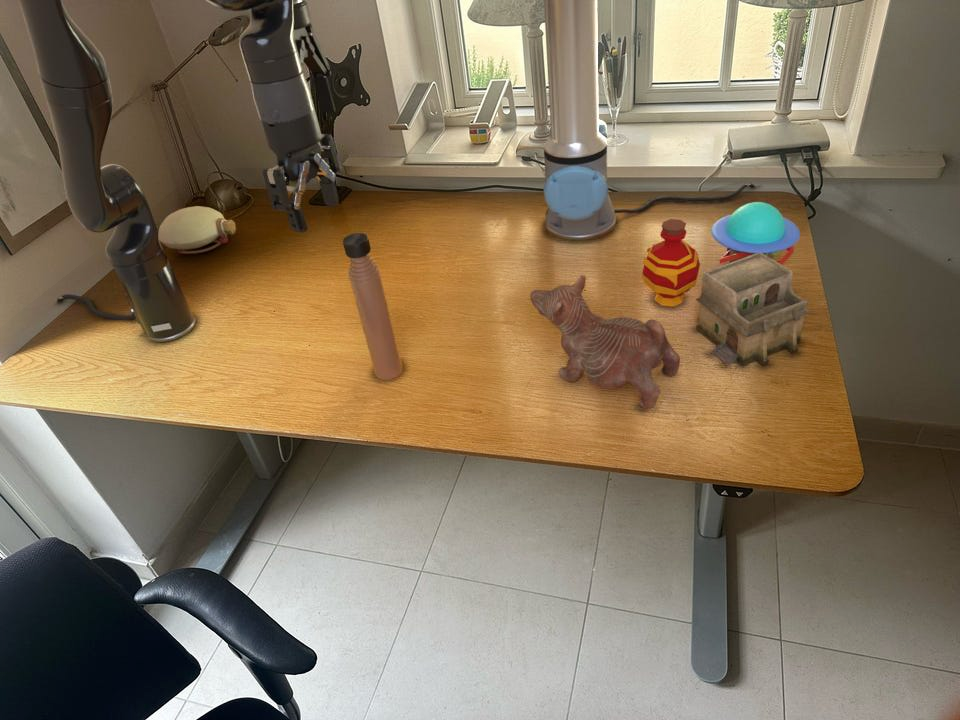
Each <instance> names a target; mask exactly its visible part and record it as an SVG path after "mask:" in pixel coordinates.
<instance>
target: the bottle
mask: <svg viewBox="0 0 960 720" xmlns="http://www.w3.org/2000/svg"><path fill="white" fill-rule="evenodd" d="M349 262H350V263H349V269H348V280H349V283H350V288H351V291H352V294H353V298H354V302H355V305H356V309H357V314H358V316H359V320H360V324H361V327H362V331H363V335H364V338H365V342H366V346H367V349H368V353H369V357H370V359H371V365H372V368H373V371H374V375H375V377H376V378H377V379H379V380H381V381H390V380H393V379H396V378H398V377H400V375H401V374H402V372H403V370H404V367H403V364H402V359H401V356H400V352H399V348H398V343H397V338H396V335H395V331H394V325H393V321H392V318H391V314H390V313H391V312H390V309H389V306H388V305H389V304H388V301H387V296H386V293H385V288H384V285H383V280H382V277H381V271H380V269H379V267H378V265H377V264H376V262H374V260H373V259H372V258H371V256H370V255H369V254H367V255H366V256H364V257H360V258H350V261H349Z"/></svg>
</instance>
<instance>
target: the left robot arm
mask: <svg viewBox="0 0 960 720" xmlns="http://www.w3.org/2000/svg"><path fill="white" fill-rule="evenodd" d="M17 1H18V4H19V7H20V10H21V14H22V17H23V19H24V23H25V26H26V30H27V33H28V36H29V40H30V44H31V48H32V51H33V56H34V59H35V63H36V68H37V72H38V77H39V80H40V84H41V87H42V88H41V89H42V91H43V95H44V98H45V102H46V105H47V108H48V111H49V115H50V119H51V122H52V127H53V130H54V135H55V139H56V144H57V148H58V154H59V159H60V167H61V173H62V180H63V181H62V182H63V187H64V193H65V196H66V201H67V203H68V207H69V209H70V211H71V213H72V215H73V216H74V219H76V221H77V222H78V223H79V224H80V225H81V226H82V227H83V228H84V229H86V230H87V231H89V232H92V233H104V232H108V231H110V230H111V229H114V230H113V232H112V234H111V236H110V237H109V240H107V243H106V244H105V248H104V251H105V255H106V257H107V259H108V260H109V263H110V264H111V267H112V268H113V271H114V272H115V274H116V276H117V278H118V280H119V282H120V284H121V286H122V288H123V289H124V291H125V295H124V296H125V298H126V301H127V303H128V304H129V306H130V308H131V315H118V314H112V313H106V312H103V311H100V310H98V309H96V308H95V306H94V304H93V303H92V301H91V300H90V299H89V298H86V297H84V296H79V295H76V294H62V295H63V296H62V295H61V296H62V297H63V298H64V299H59V298H57V299H56V303H61V302H63V300H66V299H69V300H76V301H80V302H83V303H85V304H86V305H87V307H88V308H89V310H90V311H91V312H92V313H93V314H95V315H96V316H99V317H102V318H106V319H111V320H117V321H118V320H119V321H132V320H136V322H137V325H140V327H141V329H142V331H143V333H144V335H147V337H148V339H149V340H150V341H152V342H155V343H166V342H167V343H168V342H172V341H175V340H178V339H180V338H182V337H184V336H186V335H187V334H188V333H190V332H191V331H192V330H193V329H194V327H195V326H196V324H197V319H196V317H195V315H194V314H193V312H192V310H191V308H190V305H189V303H188V301H187V299H186V297H185V294H184V292H183V290H182V288H181V285H180V284H179V281H178V279H177V277H176V274H175V272H174V270H173V268H172V266H171V264H170V262H169V260H168V257H167V254H166V253H165V250H164V248H163V246H162V243H161V242H160V241H159V237H158V233H159V229H158V227H157V224H156V222H155V219H154V216H153V214H152V211H151V207H150V205H149V203H148V200H147V198H146V196H145V195H146V194H145V193H144V191H143V189H142V187H141V185H140V183H139V182H138V181H137V179H136V178H135V176H134V175H133V174H132V173H131V172H130V171H129V170H127V169H126V168H125V167H123V166H121V165H119V164H114V163H112V164H111V163H110V164H107V165H104V166H101V159H102V152H103V149H104V145H105V141H106V138H107V135H108V131H109V128H110V124H111V121H112V117H113V111H114V98H113V97H114V96H113V92H112V85H111V81H110V76H109V71H108V67H107V64H106V61H105V58H104V56H103V55H102V53H101V52H100V50H99V49H98V48H97V47H96V45H95V44H94V43H93V42H92V40H91V39H90V38H89V37H88V36H87V35H86V34H85V32H84V31H83V30H82V29H81V28H80V27H79V26H78V25H77V24H76V22H75V21H74V20H73V19H72V18H71V16H70V15H69V13H68V12H67V9H66V7H65V4H64V2H63V0H17ZM204 1H205V2H207V3H209V4H211V5H212V6H214V7H216V8H218V9H221V10H225V11H229V12H231V11H232V12H245V11H249V12H250V21H249V24H248V25H247V27H246V28H245V29H244V31H243V32H242V33H240V35H239V39H238V45H239V50H240V54H241V57H242V60H243V63H244V67H245V70H246V73H247V76H248V80H249V83H250V88H251V93H252V99H253V102H254V105H255V108H256V111H257V115H258V118H259V123H260V125H261V127H262V131H263V134H264V137H265V141H266V144H267V146H268V149H270V150H271V151H272V152H273V153H274V154H275V156H276V166H274V167H272V168H263V170H262V175H263V179H264V180H263V181H264V183H265V187H266V190H267V194H268V197H269V201H270V205H271V208H272V210H273V211H277V212H278V211H279V212H285V214H286V217H287V219H288V223H289V226H290V228H291V230H292V231H293V232H295V233H301V234H304V233H306V232H307V231H308V229H309V227H308V223H307V221H306V218H305V214H304V211H303V208H302V207H301V201H302V196H303V195H304V194H305V192H306V186H307V185H308V184H309V183H310V182H311V180H312V179H318V181H320V182H319V188H320V191H321V195H322V198H323V203H324V205H326V206H327V207H328V206H329V207H336V206H338V205H339V203H340V200H339V194H338V190H337V185H336V182H335V181H336V179H337V176H336V175H337V173H341V170H342V166H341V162H340V159H339V155H338V153H337V149H336V146H335V141H334V139H333V136H332V134H329V133H322V132H321V128H320V123H319V121H318V116H317V112H316V108H315V104H314V101H313V100H314V99H313V98H312V93H311V88H310V86H309V83H308V81H307V78H306V76H305V74H304V70H303V65H302V66H301V62H300V58H299V54H298V50H297V47H296V44H295V40H294V14H293V0H204ZM329 159H330V160H329ZM330 161H331V163H330ZM290 183H292V184H293V185H294V186H293V185H290ZM291 195H292V200H291ZM279 198H280V200H279Z"/></svg>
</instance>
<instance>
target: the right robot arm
mask: <svg viewBox="0 0 960 720" xmlns="http://www.w3.org/2000/svg"><path fill="white" fill-rule="evenodd" d="M543 9H544V10H543V12H544V28H545V44H546V45H545V47H546V63H547V66H546V67H547V84H548V98H549V99H548V101H549V102H548V103H549V118H550V119H549V120H550V127H549V129H548V137H547V140H546V141H545V142H544V144H543V157H544V175H545V182H544V185H543V196H544V200H545V203H546V206H547V207H548V208H547V209H546V212H545V215H544V216H545V229H546V232H547V233H548V234H549V236H550V235H551V236H552V237H553V238H556V239H558V240H561V241H567V242H586V241H587V242H588V241H594V240H597V239H600V238H604V237H605V236H607V235H608V234H610V233H611V232H613V230H614V229H615V227H616V223H617V218H616V214H620V213H625V214H626V213H629V214H634V213H635V214H636V213H639V212H642V211H644V210H646V208H648V207H650V205H652V204H653V203H657V202H659V201H669V200H671V201H684V202H704V201H705V202H707V201H723V200H729V199H731V198H732V199H733V198H734V197H736V196H737V195H739V194H740V193H741V192H742V191H743V190H745V189H746V188H747V187H748V186H747V185H744V184H743V185H742V186H741V187H740V188H738V189H737V190H736V191H734V192H732V193H731V194H727V195H722V196H707V197H706V196H704V197H703V196H702V197H701V196H700V197H688V196H687V197H686V196H673V195H667V196H658V197H655V198H653V199H650V200H649V201H647V202H646V203H645V204H644V205H642V206H640V207H638V208H635V209H629V208H628V209H627V208H623V209H621V208H620V209H614V205H613V204H612V200H611V198H610V195H609V185H608V137H609V133H608V126H607V123H606V122H605V121H604V120H601V119H600V118H599V76H598V75H599V68H598V65H599V63H598V62H599V61H598V59H599V58H598V53H599V52H598V0H543ZM293 14H294V40H295V44H296V47H297V50H298V54H299V58H300V62H301V66H302V67H303V65H304V64H305V65H306V67H307V68H308V70H309V71H310V73H311V74H312V75H313V76H314V78H313V79H312V83H313V85H314V89H315V93H316V97H317V100H318V104H319V108H320V112H321V114H328V113H335V112H336V107H335V102H334V99H333V95H332V91H331V88H330V87H331V86H330V83H329V79H328V77H330V76H332V70H331V69H330V67H331V66H330V64H329V62H328V60H327V58H326V55H325V54H324V51H323V49H322V47H321V43H319V40H318V38H317V36H316V33H315V30H314V26H313V24H312V17H311V14H310V9H309V5H308V2H307V1H306V0H293ZM749 187H750V188H751V189H754V188H756V186H755V184H753V183H751V185H750V186H749Z"/></svg>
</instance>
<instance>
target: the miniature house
mask: <svg viewBox="0 0 960 720" xmlns="http://www.w3.org/2000/svg"><path fill="white" fill-rule="evenodd" d="M793 277H794V272H793V270H791V269H789V268H788V267H786V266H784V264H782V265H781V264H779V263H778V262H777V261H776V260H775V259H774V260H772V259H771V258H769V257H767V256H766V255H764V254H762V253H761V252H759V253H756V254H753V255H751V256H748V257H745V258H742V259H739V260H737V261H734V262H731V263H729V262H727V263H726V264H725V263H724V264H723V265H720V266H717V267H715V268H711V269H708V270H706V271H703V273H702V281H701V282H702V284H701V293H700V296H698V297H697V298H696V299H695V300H696V302H698V303H700V304H699V313H698V323H697V325H696V331H697V332H699V333H700V334H701V335H702V336H703V337H705V338H706V339H707V340H709V341H710V342H711V343H713V344H714V346H716V347H715V348H714V349H713V350H711V351H710V354H711V355H714V356H715V357H717V358H718V359H719V360H721V362H723V363H724V366H729V365H731V364H733V363H735V362H737V363H738V364H739V365H740V366H746V365H748V364H751V363H754V362H758V364H760V365H761V366H762V367H765V366H768V365H769V362H770V361H769V359H768V356H771V355H773V354H776V353H778V352H780V351H783V350H786V351H788V352H789V353H791V354H792V355H794V354H797V353H798V352H799V347H798V344H800V343H801V334H802V329H803V325H804V321H805V316H806V315H808V314H811V310H809V309H808V300H806V299H804V298H803V297H801V296H799V295H798V294H796V293H795V291H794V290H793Z"/></svg>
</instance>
